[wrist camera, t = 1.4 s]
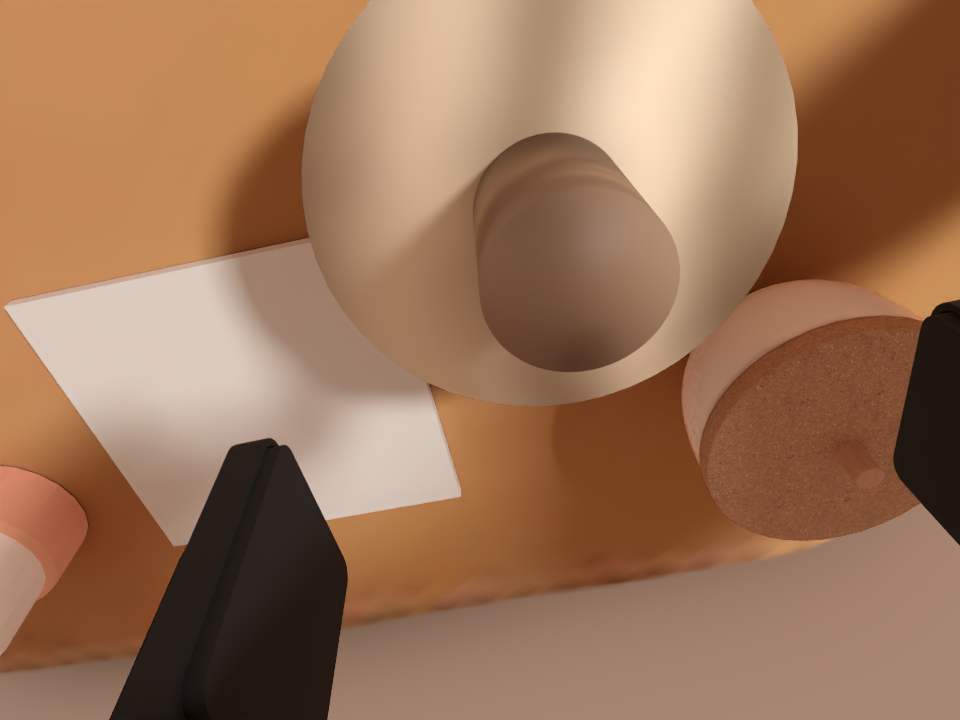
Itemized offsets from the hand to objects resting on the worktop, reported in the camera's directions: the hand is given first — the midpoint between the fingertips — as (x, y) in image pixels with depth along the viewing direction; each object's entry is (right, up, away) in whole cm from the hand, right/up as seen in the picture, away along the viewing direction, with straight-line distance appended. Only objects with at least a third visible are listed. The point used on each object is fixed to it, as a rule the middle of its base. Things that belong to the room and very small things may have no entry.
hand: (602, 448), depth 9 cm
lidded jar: (+12, +2, +21) cm, 24 cm away
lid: (0, +6, +9) cm, 11 cm away
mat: (-13, -1, +22) cm, 25 cm away
